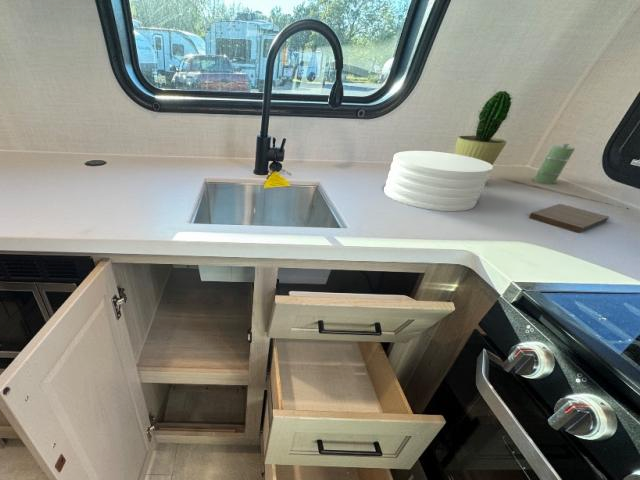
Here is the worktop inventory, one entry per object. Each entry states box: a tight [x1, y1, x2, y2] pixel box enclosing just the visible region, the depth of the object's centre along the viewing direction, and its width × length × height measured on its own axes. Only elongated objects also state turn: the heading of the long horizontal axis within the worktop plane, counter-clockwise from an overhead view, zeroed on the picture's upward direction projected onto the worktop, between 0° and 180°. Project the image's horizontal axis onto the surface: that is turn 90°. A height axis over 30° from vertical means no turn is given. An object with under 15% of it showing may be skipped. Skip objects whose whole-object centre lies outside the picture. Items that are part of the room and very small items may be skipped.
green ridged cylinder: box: [533, 142, 576, 185], centre depth 118 cm, size 7×7×14 cm
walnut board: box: [528, 203, 610, 234], centre depth 91 cm, size 18×12×2 cm, turn 119°
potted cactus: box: [453, 90, 514, 166], centre depth 114 cm, size 15×15×30 cm
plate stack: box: [383, 150, 494, 212], centre depth 103 cm, size 28×28×12 cm
